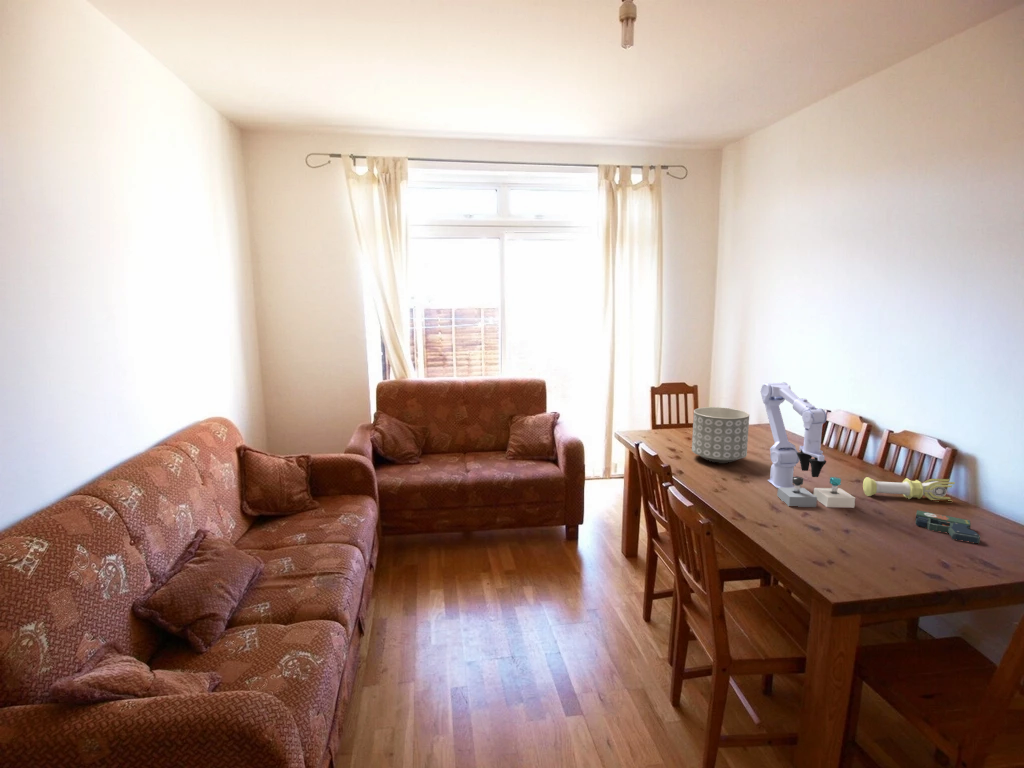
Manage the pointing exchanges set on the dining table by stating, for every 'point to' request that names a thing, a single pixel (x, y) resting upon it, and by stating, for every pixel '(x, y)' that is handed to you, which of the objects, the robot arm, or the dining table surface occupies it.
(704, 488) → the dining table surface
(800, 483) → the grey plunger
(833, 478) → the teal round knob
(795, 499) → the grey block
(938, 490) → the yellow toy scepter
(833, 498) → the cream block
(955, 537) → the gun
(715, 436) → the planter
